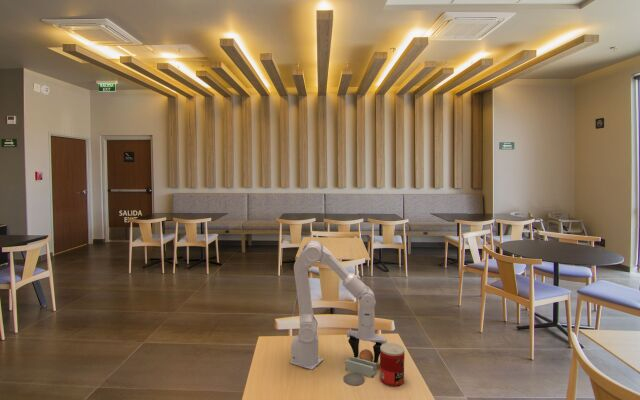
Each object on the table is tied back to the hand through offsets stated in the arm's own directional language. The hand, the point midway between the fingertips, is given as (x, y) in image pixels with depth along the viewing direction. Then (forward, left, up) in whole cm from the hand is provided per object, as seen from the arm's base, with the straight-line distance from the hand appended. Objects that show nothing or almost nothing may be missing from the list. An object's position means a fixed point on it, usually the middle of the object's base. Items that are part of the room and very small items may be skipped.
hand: (366, 359), depth 135 cm
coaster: (0, -12, -1) cm, 12 cm away
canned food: (+12, -6, -2) cm, 13 cm away
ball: (0, 0, -1) cm, 1 cm away
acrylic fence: (0, -6, -1) cm, 6 cm away
